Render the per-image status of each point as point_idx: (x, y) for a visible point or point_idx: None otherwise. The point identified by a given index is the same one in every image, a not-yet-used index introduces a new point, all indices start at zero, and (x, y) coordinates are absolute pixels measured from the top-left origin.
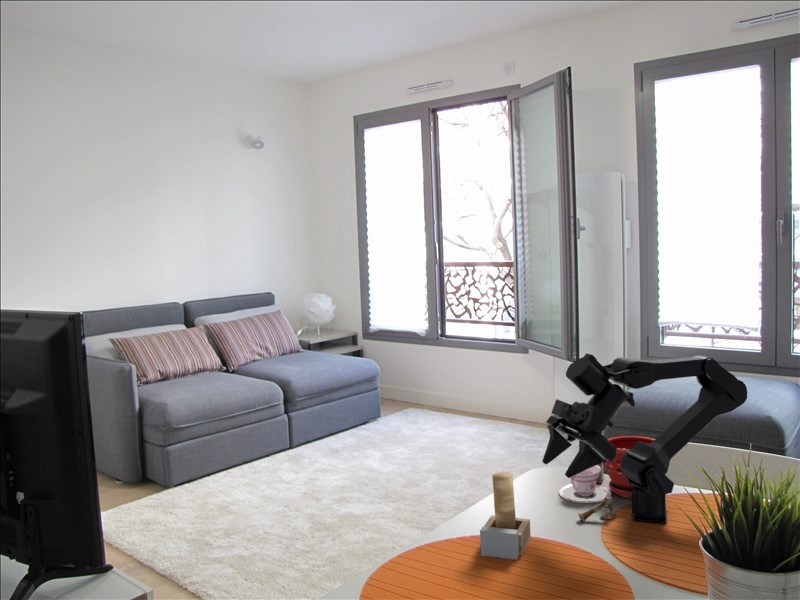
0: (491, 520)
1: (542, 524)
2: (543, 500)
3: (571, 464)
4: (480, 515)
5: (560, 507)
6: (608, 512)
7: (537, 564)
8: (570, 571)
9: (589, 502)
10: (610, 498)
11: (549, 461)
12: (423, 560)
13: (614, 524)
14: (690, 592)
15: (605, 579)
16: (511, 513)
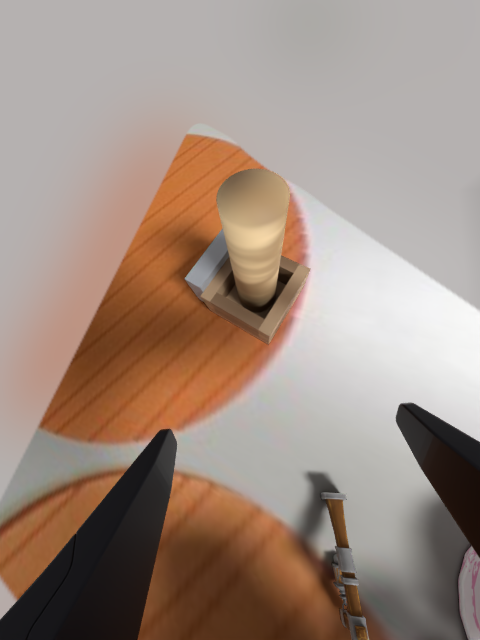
0: (284, 263)
1: (329, 391)
2: None
3: (126, 491)
4: (397, 287)
5: None
6: (343, 598)
7: (174, 323)
8: (135, 363)
9: (460, 593)
10: None
11: (411, 446)
12: None
13: (293, 572)
14: None
15: (90, 406)
16: (234, 275)
